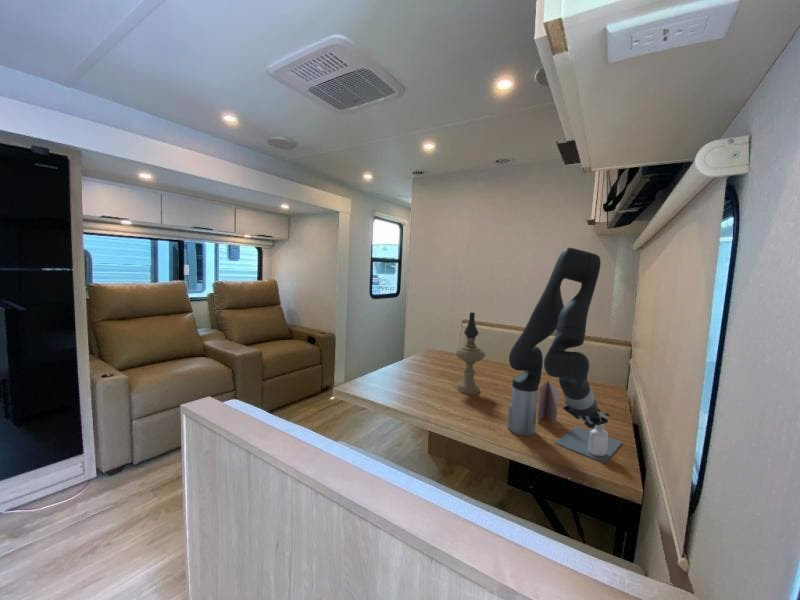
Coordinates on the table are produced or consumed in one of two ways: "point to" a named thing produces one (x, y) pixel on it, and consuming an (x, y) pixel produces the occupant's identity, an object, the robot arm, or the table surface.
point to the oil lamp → (470, 358)
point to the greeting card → (548, 402)
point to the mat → (586, 444)
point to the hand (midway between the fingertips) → (590, 425)
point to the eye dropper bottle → (598, 441)
